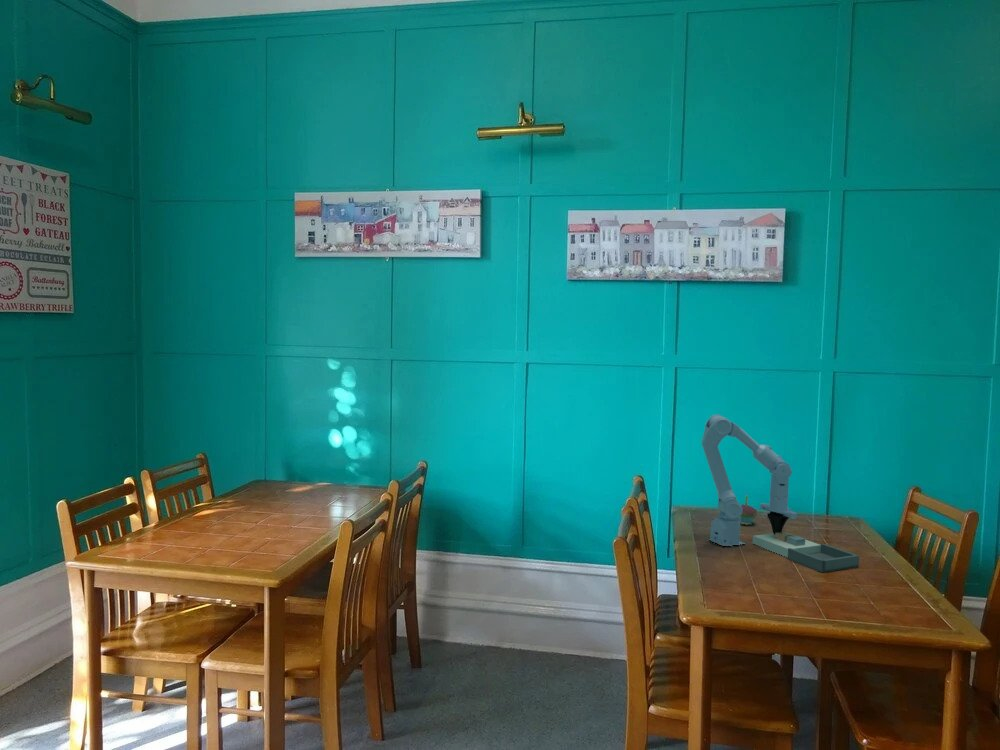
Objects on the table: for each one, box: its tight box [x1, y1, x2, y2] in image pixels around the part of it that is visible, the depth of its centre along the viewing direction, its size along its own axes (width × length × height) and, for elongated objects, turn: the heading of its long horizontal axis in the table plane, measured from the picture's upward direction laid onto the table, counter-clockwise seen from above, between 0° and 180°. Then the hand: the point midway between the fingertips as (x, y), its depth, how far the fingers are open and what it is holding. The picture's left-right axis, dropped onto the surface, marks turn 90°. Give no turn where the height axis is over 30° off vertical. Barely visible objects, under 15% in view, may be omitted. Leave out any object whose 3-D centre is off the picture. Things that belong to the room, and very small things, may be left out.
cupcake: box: [740, 494, 758, 523], centre depth 269 cm, size 9×8×12 cm
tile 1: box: [775, 531, 794, 542], centre depth 239 cm, size 4×4×2 cm
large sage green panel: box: [752, 532, 821, 559], centre depth 238 cm, size 14×16×3 cm
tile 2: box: [787, 535, 806, 546], centre depth 234 cm, size 4×4×2 cm
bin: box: [787, 543, 860, 573], centre depth 224 cm, size 16×14×4 cm
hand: (777, 534), depth 242 cm, fingers closed
